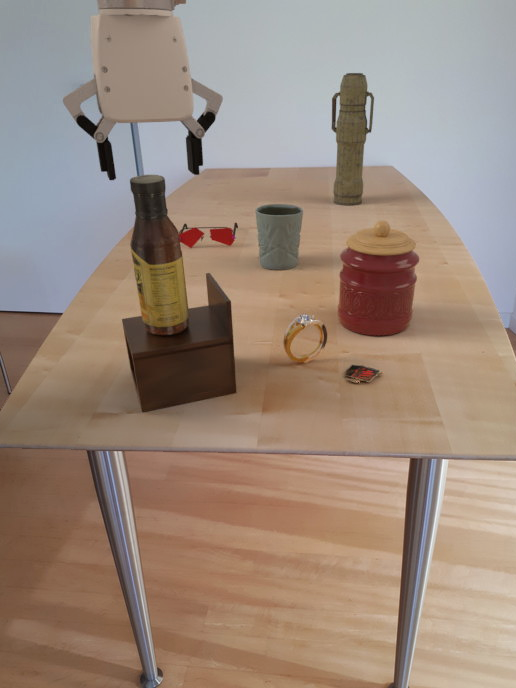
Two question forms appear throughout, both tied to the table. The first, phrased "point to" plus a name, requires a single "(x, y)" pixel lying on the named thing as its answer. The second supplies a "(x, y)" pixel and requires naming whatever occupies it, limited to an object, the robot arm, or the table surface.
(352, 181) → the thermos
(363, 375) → the matchbox
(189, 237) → the glasses
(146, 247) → the sauce bottle
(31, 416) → the table surface
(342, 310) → the kitchen canister
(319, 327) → the ring
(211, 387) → the shelf
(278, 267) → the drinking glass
